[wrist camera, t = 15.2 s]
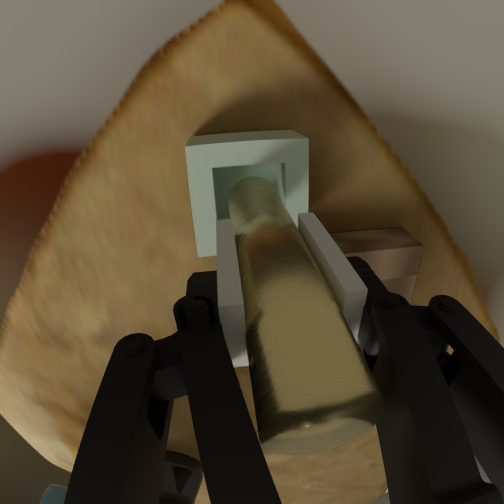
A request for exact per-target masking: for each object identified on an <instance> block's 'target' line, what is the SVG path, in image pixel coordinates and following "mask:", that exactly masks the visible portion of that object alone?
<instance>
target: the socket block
mask: <svg viewBox="0 0 504 504" xmlns="http://www.w3.org/2000/svg"><path fill="white" fill-rule="evenodd" d="M329 235H330V236H331V237H332V239H333V240H334V241H335V243H336V244H337V246H338V247H339V248H340V250H341V251H342V253H343V254H344V255H345V257H351V256H358V257H360V258H361V259H363V260H365V261H366V262H367V263H368V265H369V266H370V267H371V270H373V271H374V272H375V274H376V275H377V276H378V278H379V279H380V280H381V282H382V283H383V284H384V286H385V287H386V288H387V290H388V291H389V292H393V293H397V294H400V295H401V296H403V297H404V298H405V299H406V300H407V301H408V302H409V304H410V301H411V297H412V294H413V290H414V286H415V282H416V278H417V273H418V269H419V265H420V260H421V256H422V251H423V246H424V245H422V244H421V243H420V242H419V241H418V240H417V239H416V238H414V237H413V236H412V235H411V234H410V233H409V232H408V231H406V230H405V229H404V228H403V227H402V228H389V229H376V230H364V231H352V232H340V233H329ZM357 344H358V345H361V343H360V341H359V339H358V341H357Z"/></svg>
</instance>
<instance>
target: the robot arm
mask: <svg viewBox="0 0 504 504" xmlns="http://www.w3.org/2000/svg"><path fill="white" fill-rule="evenodd" d="M298 230H299V232H300V234H301V236H302V237H303V239H304V241H305V243H306V245H307V247H308V249H309V250H310V252H311V254H312V256H313V258H314V260H315V262H316V263H317V265H318V267H319V269H320V271H321V273H322V275H323V277H324V279H325V280H326V282H327V284H328V286H329V288H330V290H331V292H332V294H333V296H334V298H335V300H336V302H337V304H338V306H339V308H340V310H341V312H342V313H343V315H344V317H345V319H346V321H347V323H348V325H349V327H350V329H351V331H352V333H353V335H354V337H355V340H356V342H357V341H358V339H359V341H360V343H361V345H362V350H361V352H362V354H363V356H364V358H365V360H366V362H367V364H368V366H369V368H370V371H371V373H372V375H373V377H374V379H375V381H376V383H377V385H378V388H379V390H380V392H381V394H382V396H383V398H384V401H385V409H384V412H383V414H382V416H381V417H380V419H379V420H378V421H377V423H376V427H377V432H378V437H379V442H380V447H381V452H382V457H383V463H384V468H385V474H386V480H387V485H388V492H389V498H390V504H504V348H503V347H502V346H501V345H500V344H499V343H498V341H497V340H496V339H495V338H494V337H493V336H492V335H491V334H490V333H489V332H488V331H487V330H486V329H485V328H484V327H483V326H482V325H481V324H480V323H479V321H478V320H477V319H476V318H475V317H474V316H473V315H472V314H471V313H470V312H469V311H468V310H467V309H466V308H465V307H464V306H463V305H462V304H461V303H460V302H458V301H457V300H456V299H454V298H452V297H450V296H447V295H436V296H434V297H432V298H431V300H430V302H429V305H428V306H413V305H410V304H409V302H408V301H407V300H406V299H405V298H404V297H403V296H401V295H400V294H397V293H393V292H389V291H388V290H387V288H386V287H385V286H384V284H383V283H382V282H381V280H380V279H379V278H378V276H377V275H376V274H375V272H374V271H373V270H371V267H370V266H369V265H368V263H367V262H366V261H365V260H363V259H361V258H360V257H358V256H351V257H345V255H344V254H343V253H342V251H341V250H340V248H339V247H338V246H337V244H336V243H335V241H334V240H333V239H332V237H331V236H330V235H329V233H328V232H327V230H326V229H325V228H324V226H323V225H322V224H321V222H320V221H319V220H318V218H317V217H316V215H315V214H314V213H313V212H311V213H298ZM216 248H217V271H206V272H195V273H193V274H192V275H191V277H190V278H189V279H188V281H187V290H186V296H184V297H182V298H181V299H179V300H178V301H177V302H176V303H175V304H174V308H173V312H174V317H175V321H176V325H177V329H178V331H177V332H176V333H174V334H172V335H171V336H168V337H166V338H163V339H160V340H156V341H154V340H153V338H152V337H151V336H149V335H147V334H143V333H135V334H130V335H128V336H125V337H123V338H122V339H121V340H119V341H118V343H117V344H116V346H115V347H114V350H113V353H112V355H111V358H110V360H109V363H108V365H107V368H106V371H105V373H104V376H103V379H102V381H101V384H100V387H99V390H98V392H97V395H96V398H95V401H94V404H93V407H92V410H91V413H90V415H89V418H88V421H87V425H86V428H85V431H84V434H83V437H82V440H81V443H80V447H79V450H78V453H77V456H76V460H75V463H74V467H73V470H72V474H71V477H70V481H69V485H68V488H67V487H64V486H61V485H58V484H53V485H50V486H49V487H48V488H47V489H46V491H45V493H44V495H43V497H42V500H41V502H40V504H194V502H195V499H196V496H197V494H198V491H199V488H200V485H201V482H202V479H203V473H204V477H205V482H206V486H207V490H208V494H209V498H210V502H211V504H282V503H281V500H280V498H279V495H278V492H277V490H276V487H275V485H274V482H273V479H272V477H271V474H270V471H269V468H268V466H267V463H266V460H265V457H264V455H263V452H262V449H261V446H260V443H259V441H258V438H257V435H256V432H255V429H254V426H253V423H252V421H251V418H250V415H249V412H248V409H247V406H246V403H245V400H244V397H243V394H242V391H241V388H240V385H239V382H238V378H237V375H236V372H235V369H234V367H241V366H249V362H248V355H247V348H246V340H245V331H246V325H245V312H244V302H243V295H242V287H241V280H240V273H239V266H238V258H237V251H236V244H235V236H234V229H233V221H232V219H223V220H216ZM449 345H450V346H451V347H452V349H453V350H454V351H453V353H452V355H450V354H449V353H448V352H447V349H448V346H449ZM185 395H188V399H189V404H190V410H191V415H192V421H193V426H194V431H195V436H196V441H197V446H198V450H199V455H200V460H201V464H202V465H201V464H200V463H199V462H198V461H196V460H194V459H193V458H190V457H188V456H185V455H182V454H178V453H174V452H169V451H166V446H167V439H168V433H169V426H170V420H171V414H172V408H173V402H174V399H176V398H179V397H182V396H185ZM473 453H474V454H473ZM474 455H475V457H476V458H477V460H478V461H479V463H480V465H481V466H482V468H483V470H484V471H485V473H486V475H487V476H488V478H489V480H490V481H491V483H492V484H490V483H486V482H484V481H483V480H482V478H481V476H480V473H479V470H478V466H477V463H476V460H475V457H474Z"/></svg>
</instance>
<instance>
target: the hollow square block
mask: <svg viewBox="0 0 504 504" xmlns="http://www.w3.org/2000/svg"><path fill="white" fill-rule="evenodd" d="M185 153H186V162H187V171H188V180H189V189H190V198H191V206H192V214H193V222H194V229H195V237H196V244H197V251H198V257H205V256H216V255H217V248H216V220H223V219H230V211H229V203H228V198H229V193H230V191H231V189H232V187H233V186H234V185H235V184H236V183H237V182H238V181H239V180H241V179H243V178H246V177H250V176H258V177H262V178H265V179H266V180H268V181H269V182H270V183H271V184H272V185H273V186H274V187H275V189H276V191H277V193H278V194H279V196H280V198H281V200H282V202H283V203H284V205H285V207H286V209H287V210H288V212H289V214H290V216H291V218H292V219H293V221H294V223H295V225H296V227H297V228H298V213H308V197H309V138H307V137H305V136H303V135H301V134H299V133H297V132H295V131H293V130H268V131H249V132H234V133H221V134H210V135H200V136H191V137H190V138H189V140H188V142H187V144H186V145H185Z"/></svg>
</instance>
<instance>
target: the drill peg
mask: <svg viewBox="0 0 504 504" xmlns="http://www.w3.org/2000/svg"><path fill="white" fill-rule="evenodd" d="M228 203H229V211H230V219H232V221H233V229H234V236H235V244H236V251H237V258H238V266H239V273H240V280H241V287H242V295H243V302H244V312H245V325H246V331H245V340H246V348H247V355H248V362H249V370H250V377H251V384H252V391H253V399H254V406H255V413H256V420H257V427H258V434H259V439H260V442H261V444H262V445H263V446H264V447H265V448H266V449H268V450H270V451H272V452H275V453H279V454H284V455H308V454H315V453H320V452H324V451H328V450H331V449H334V448H337V447H340V446H342V445H344V444H347V443H349V442H351V441H353V440H354V439H356V438H358V437H359V436H361V435H363V434H364V433H365V432H367V431H368V430H369V429H370V428H372V427H373V426H374V425H375V424H376V423H377V421H378V420H379V419H380V417H381V416H382V414H383V412H384V409H385V401H384V398H383V396H382V394H381V392H380V390H379V388H378V385H377V383H376V381H375V379H374V377H373V375H372V373H371V371H370V368H369V366H368V364H367V362H366V360H365V358H364V356H363V354H362V352H361V350H360V348H359V346H358V344H357V342H356V340H355V337H354V335H353V333H352V331H351V329H350V327H349V325H348V323H347V321H346V319H345V317H344V315H343V313H342V312H341V310H340V308H339V306H338V304H337V302H336V300H335V298H334V296H333V294H332V292H331V290H330V288H329V286H328V284H327V282H326V280H325V279H324V277H323V275H322V273H321V271H320V269H319V267H318V265H317V263H316V262H315V260H314V258H313V256H312V254H311V252H310V250H309V249H308V247H307V245H306V243H305V241H304V239H303V237H302V236H301V234H300V232H299V230H298V228H297V227H296V225H295V223H294V221H293V219H292V218H291V216H290V214H289V212H288V210H287V209H286V207H285V205H284V203H283V202H282V200H281V198H280V196H279V194H278V193H277V191H276V189H275V187H274V186H273V185H272V184H271V183H270V182H269V181H268V180H266V179H265V178H262V177H258V176H250V177H246V178H243V179H241V180H239V181H238V182H237V183H236V184H235V185H234V186H233V187H232V189H231V191H230V193H229V198H228Z"/></svg>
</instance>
